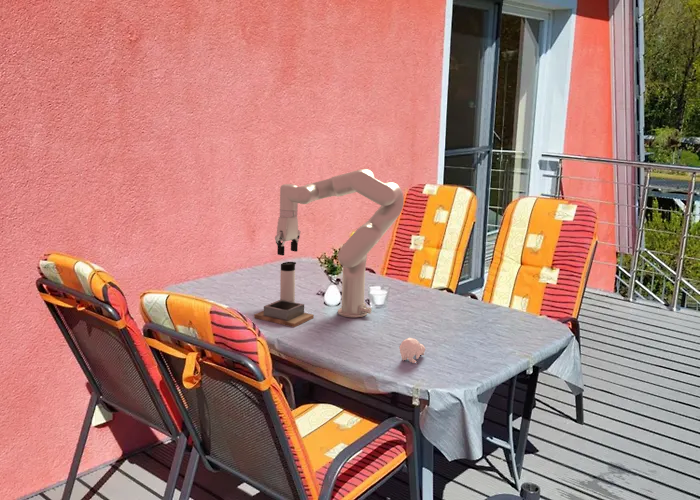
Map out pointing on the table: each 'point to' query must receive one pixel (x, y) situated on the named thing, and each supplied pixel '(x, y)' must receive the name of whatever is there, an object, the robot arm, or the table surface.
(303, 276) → the table surface
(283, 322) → the walnut stand
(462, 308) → the table surface
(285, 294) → the travel mug
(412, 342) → the pink animal figurine
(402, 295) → the table surface
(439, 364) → the table surface
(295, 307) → the gray square tray
